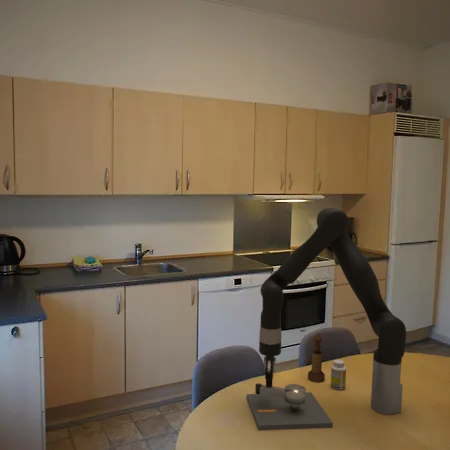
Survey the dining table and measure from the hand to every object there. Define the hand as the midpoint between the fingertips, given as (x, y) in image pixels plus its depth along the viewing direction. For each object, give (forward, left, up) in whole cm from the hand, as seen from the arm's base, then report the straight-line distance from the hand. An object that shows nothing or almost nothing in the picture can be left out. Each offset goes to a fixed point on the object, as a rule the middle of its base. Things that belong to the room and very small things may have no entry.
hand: (268, 388), depth 156 cm
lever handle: (-3, +4, -5) cm, 7 cm away
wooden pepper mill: (-25, -22, -7) cm, 34 cm away
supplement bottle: (-31, -14, -7) cm, 34 cm away
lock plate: (-6, +4, -7) cm, 10 cm away
